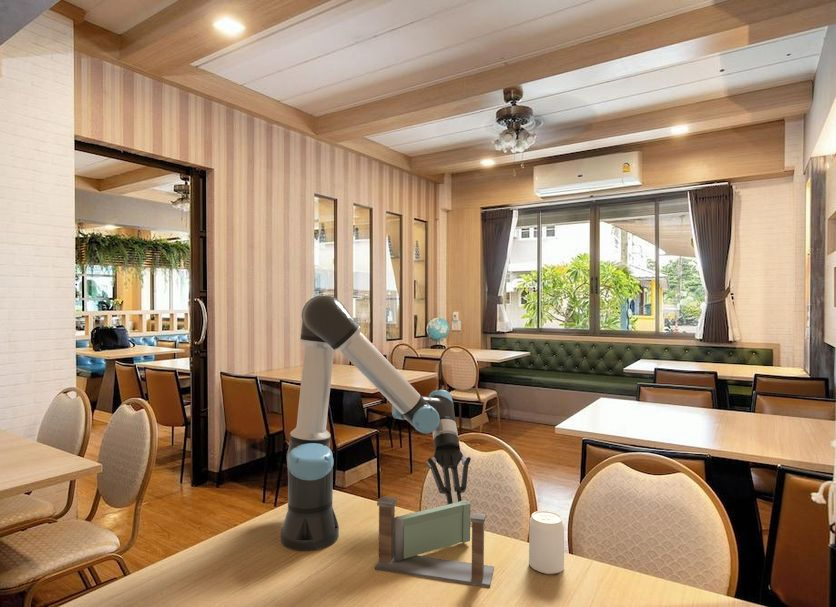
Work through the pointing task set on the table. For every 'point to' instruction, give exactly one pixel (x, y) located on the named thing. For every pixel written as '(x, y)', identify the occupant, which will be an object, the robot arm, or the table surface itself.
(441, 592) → the table surface
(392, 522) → the gate frame
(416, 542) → the gate
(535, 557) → the white cylinder
